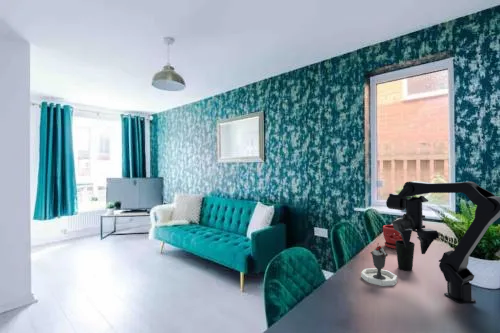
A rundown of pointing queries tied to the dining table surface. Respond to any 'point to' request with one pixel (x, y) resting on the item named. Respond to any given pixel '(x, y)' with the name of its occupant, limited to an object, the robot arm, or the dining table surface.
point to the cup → (405, 255)
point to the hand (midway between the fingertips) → (414, 250)
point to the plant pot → (391, 236)
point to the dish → (389, 281)
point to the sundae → (379, 261)
